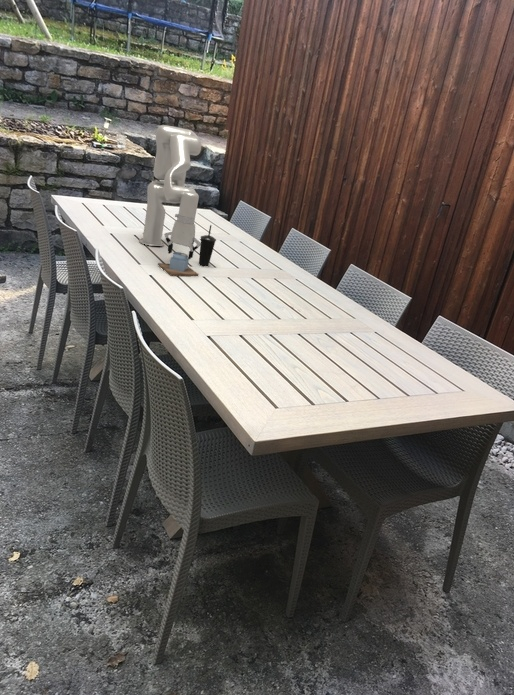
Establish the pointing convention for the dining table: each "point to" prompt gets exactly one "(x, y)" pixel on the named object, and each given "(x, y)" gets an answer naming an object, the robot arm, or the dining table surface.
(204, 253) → the drinking cup
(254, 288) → the dining table surface
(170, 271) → the board
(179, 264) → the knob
